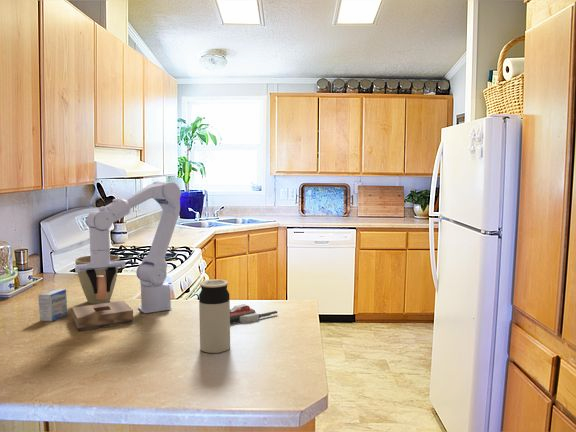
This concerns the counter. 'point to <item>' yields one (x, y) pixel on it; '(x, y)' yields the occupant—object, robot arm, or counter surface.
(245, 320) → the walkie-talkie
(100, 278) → the peg
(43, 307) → the medicine box
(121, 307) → the socket board
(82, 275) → the plant pot
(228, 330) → the travel mug
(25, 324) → the counter surface
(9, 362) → the counter surface
